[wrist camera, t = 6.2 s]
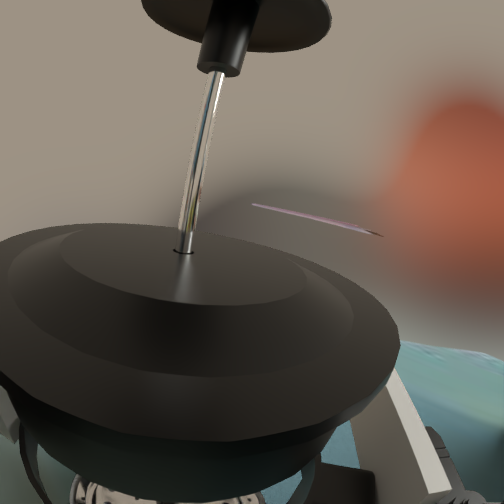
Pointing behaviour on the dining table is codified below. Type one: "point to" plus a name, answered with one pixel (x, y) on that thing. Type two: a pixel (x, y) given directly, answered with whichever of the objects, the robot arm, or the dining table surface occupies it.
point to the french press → (190, 329)
